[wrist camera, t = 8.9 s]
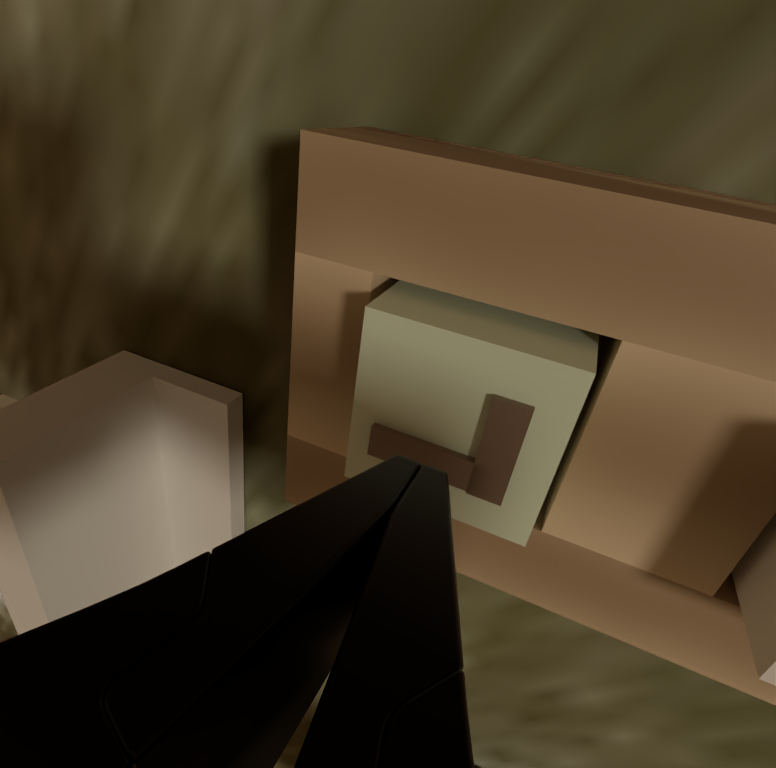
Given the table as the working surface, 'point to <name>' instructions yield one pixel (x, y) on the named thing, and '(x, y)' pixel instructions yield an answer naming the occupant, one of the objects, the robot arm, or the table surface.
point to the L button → (470, 400)
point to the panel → (609, 388)
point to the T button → (760, 599)
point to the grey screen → (114, 483)
